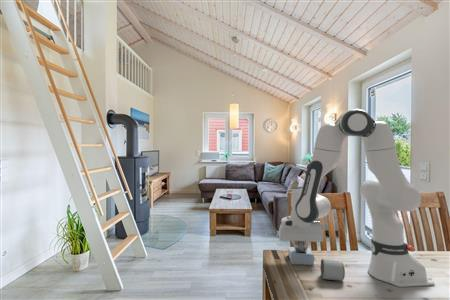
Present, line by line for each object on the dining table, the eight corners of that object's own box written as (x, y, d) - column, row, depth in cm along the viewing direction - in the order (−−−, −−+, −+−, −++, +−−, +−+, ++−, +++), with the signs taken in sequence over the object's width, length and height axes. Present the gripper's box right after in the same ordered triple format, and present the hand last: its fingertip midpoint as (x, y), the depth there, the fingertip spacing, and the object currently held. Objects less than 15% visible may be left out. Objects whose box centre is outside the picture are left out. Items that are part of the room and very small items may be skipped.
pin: (303, 256, 125) (303, 239, 125) (304, 258, 122) (304, 241, 122) (296, 255, 125) (296, 238, 125) (298, 258, 122) (298, 241, 122)
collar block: (309, 255, 128) (309, 247, 128) (313, 264, 118) (313, 255, 118) (288, 254, 129) (288, 246, 129) (291, 263, 119) (291, 255, 119)
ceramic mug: (345, 284, 101) (345, 264, 101) (323, 282, 102) (323, 262, 102) (338, 272, 111) (338, 254, 112) (318, 270, 113) (318, 252, 113)
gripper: (321, 219, 126) (321, 248, 126) (278, 218, 128) (278, 246, 128) (325, 223, 119) (325, 253, 119) (279, 222, 121) (279, 251, 121)
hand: (300, 250), depth 124 cm, fingers closed on pin, 3 cm apart
